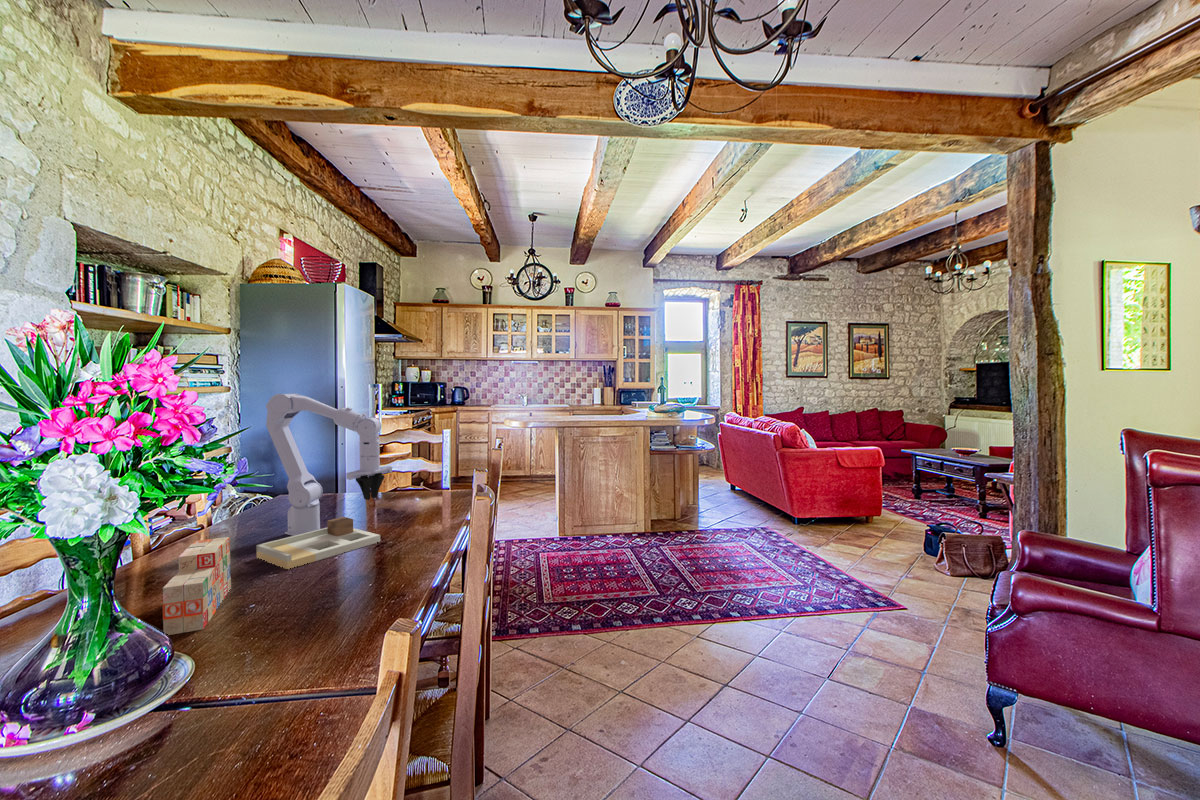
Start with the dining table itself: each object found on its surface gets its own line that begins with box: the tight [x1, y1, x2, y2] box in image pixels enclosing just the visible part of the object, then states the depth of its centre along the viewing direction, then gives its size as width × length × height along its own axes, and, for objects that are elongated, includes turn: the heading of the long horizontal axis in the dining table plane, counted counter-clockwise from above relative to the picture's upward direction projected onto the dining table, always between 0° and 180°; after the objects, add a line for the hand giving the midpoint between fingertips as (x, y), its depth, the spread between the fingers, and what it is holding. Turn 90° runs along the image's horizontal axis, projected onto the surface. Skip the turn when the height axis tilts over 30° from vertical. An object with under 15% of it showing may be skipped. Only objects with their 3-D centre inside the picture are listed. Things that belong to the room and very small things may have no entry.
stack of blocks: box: [162, 536, 232, 636], centre depth 104 cm, size 21×6×12 cm, turn 25°
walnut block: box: [326, 516, 354, 536], centre depth 151 cm, size 5×5×4 cm
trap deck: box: [255, 526, 381, 570], centre depth 142 cm, size 16×26×4 cm, turn 148°
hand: (370, 498), depth 159 cm, fingers closed
